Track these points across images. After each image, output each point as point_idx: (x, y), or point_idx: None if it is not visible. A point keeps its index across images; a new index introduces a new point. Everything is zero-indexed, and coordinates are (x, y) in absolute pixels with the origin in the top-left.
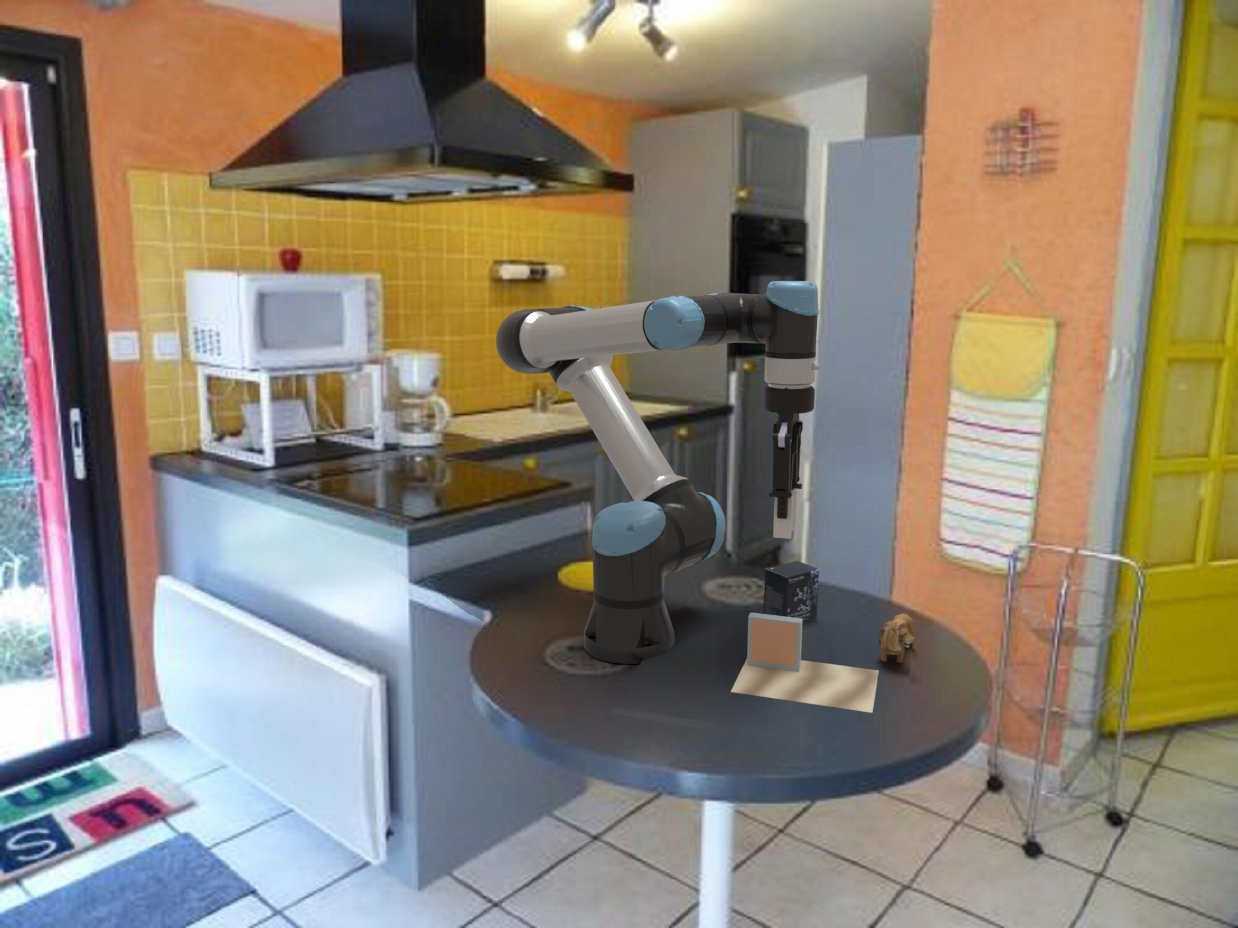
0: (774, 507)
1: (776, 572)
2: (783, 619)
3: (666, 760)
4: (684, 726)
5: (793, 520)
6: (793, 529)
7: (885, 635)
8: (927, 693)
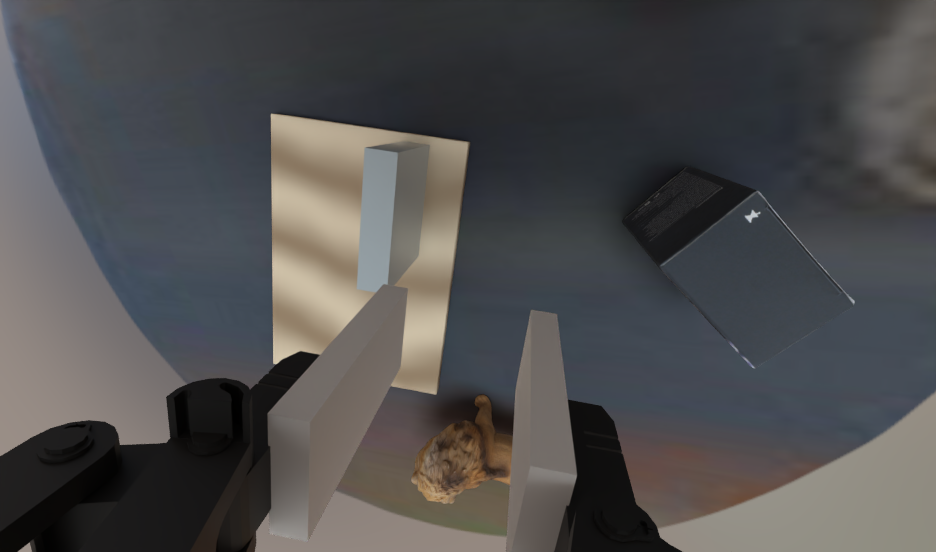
0: (313, 365)
1: (706, 232)
2: (369, 246)
3: (24, 16)
4: (141, 31)
5: (515, 412)
6: (516, 385)
7: (430, 447)
8: (392, 448)
